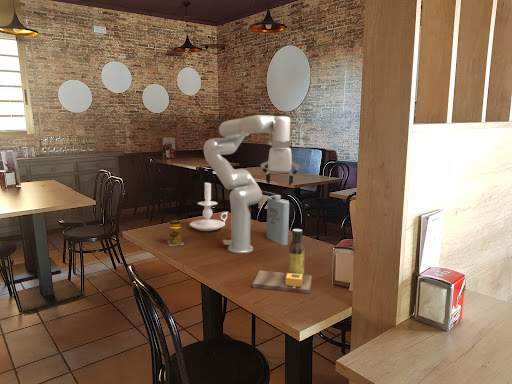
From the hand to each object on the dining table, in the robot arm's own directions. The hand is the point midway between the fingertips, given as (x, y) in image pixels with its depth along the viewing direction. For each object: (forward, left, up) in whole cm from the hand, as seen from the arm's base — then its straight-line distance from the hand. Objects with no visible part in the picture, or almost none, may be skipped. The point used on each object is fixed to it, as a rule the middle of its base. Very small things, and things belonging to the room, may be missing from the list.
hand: (279, 183), depth 173 cm
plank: (+6, -23, -36) cm, 43 cm away
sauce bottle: (+11, -20, -35) cm, 42 cm away
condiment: (-55, +13, -37) cm, 67 cm away
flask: (-5, +32, -36) cm, 49 cm away
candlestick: (-46, +44, -37) cm, 73 cm away
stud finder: (+11, -26, -34) cm, 45 cm away
